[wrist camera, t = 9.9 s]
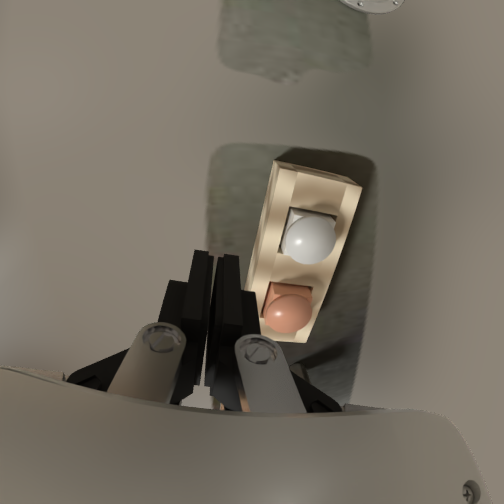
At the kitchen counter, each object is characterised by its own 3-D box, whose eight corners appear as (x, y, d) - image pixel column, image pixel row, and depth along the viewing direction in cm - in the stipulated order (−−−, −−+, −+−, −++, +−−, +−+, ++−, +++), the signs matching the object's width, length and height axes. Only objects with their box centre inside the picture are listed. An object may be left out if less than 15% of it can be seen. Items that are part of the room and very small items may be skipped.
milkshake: (313, 357, 53) (325, 400, 44) (304, 375, 55) (314, 417, 46) (289, 356, 52) (299, 400, 43) (282, 375, 54) (289, 418, 46)
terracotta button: (267, 269, 41) (272, 294, 36) (308, 275, 42) (318, 300, 37) (258, 304, 43) (262, 331, 38) (296, 308, 44) (304, 334, 39)
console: (273, 160, 36) (280, 168, 32) (347, 177, 38) (362, 187, 33) (238, 315, 47) (239, 337, 42) (299, 321, 48) (305, 342, 44)
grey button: (284, 196, 37) (293, 213, 32) (327, 205, 38) (342, 222, 33) (273, 238, 40) (280, 260, 35) (315, 245, 41) (327, 267, 35)
